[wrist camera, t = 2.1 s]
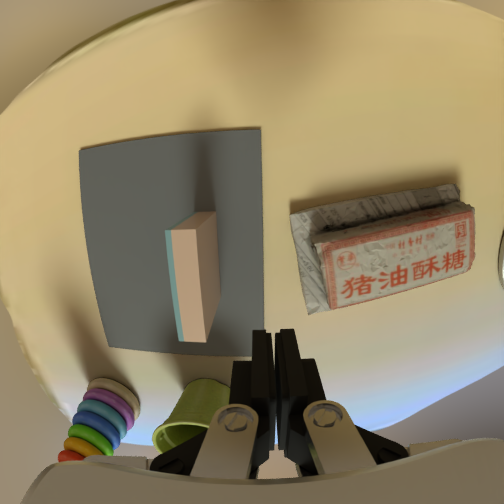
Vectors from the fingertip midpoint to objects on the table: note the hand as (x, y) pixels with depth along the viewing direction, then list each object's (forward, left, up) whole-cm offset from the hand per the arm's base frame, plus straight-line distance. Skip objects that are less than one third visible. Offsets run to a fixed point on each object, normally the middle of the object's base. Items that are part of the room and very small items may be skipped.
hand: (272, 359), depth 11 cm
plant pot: (+7, +18, -16) cm, 25 cm away
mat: (+9, 0, -16) cm, 18 cm away
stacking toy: (+20, +20, -16) cm, 33 cm away
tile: (+5, 0, -15) cm, 16 cm away
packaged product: (-12, -1, -16) cm, 20 cm away
